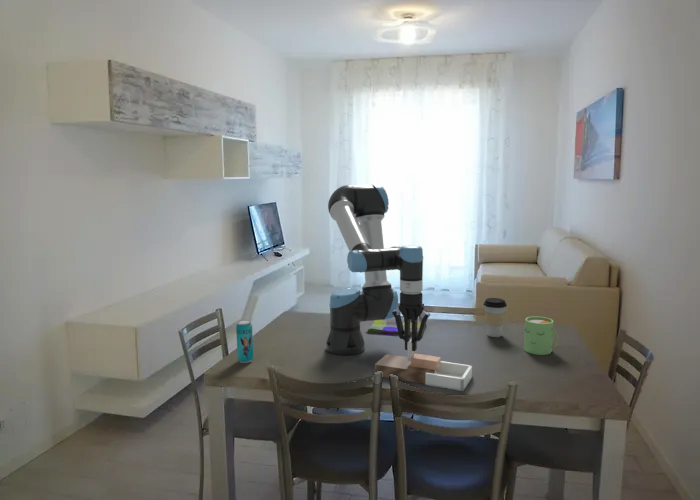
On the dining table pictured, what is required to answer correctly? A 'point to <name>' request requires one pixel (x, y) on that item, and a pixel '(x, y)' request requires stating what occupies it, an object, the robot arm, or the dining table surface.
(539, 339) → the mug
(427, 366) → the tile
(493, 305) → the coffee cup
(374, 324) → the dish towel
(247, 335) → the beverage can
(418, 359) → the salmon pink block
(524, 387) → the dining table surface
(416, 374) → the board
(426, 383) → the tray
